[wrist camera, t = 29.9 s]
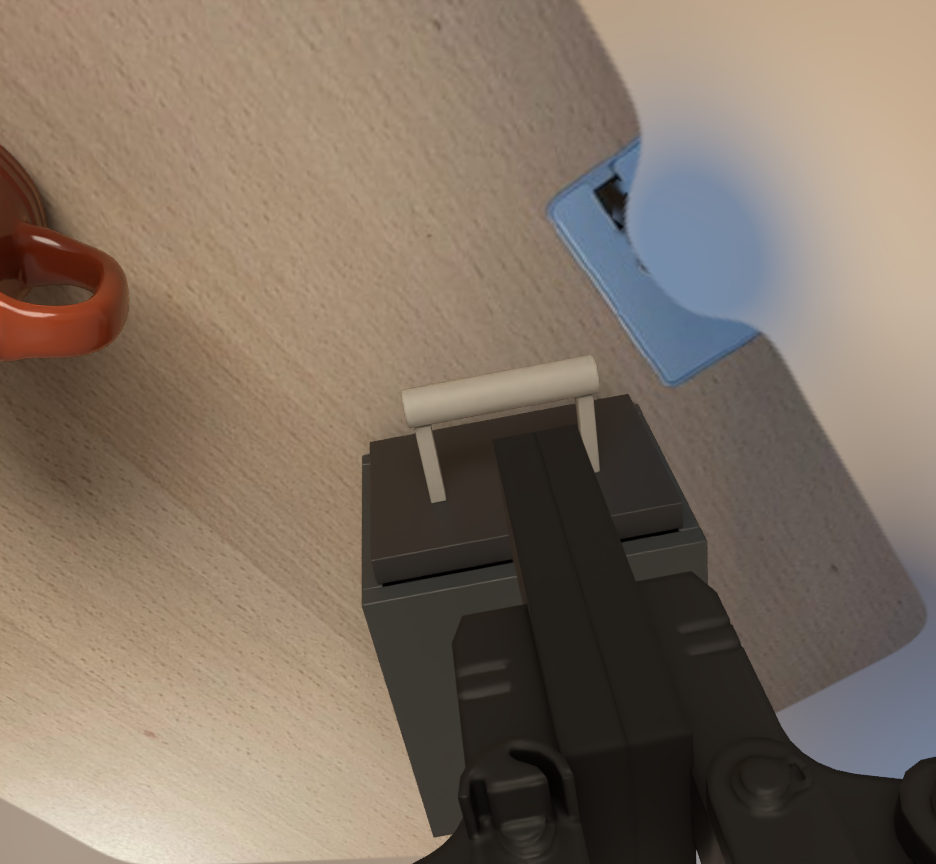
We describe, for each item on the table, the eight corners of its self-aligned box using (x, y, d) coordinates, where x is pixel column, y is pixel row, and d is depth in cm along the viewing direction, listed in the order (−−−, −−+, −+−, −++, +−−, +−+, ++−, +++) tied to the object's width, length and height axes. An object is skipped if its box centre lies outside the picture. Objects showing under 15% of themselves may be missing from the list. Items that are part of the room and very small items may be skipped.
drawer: (342, 342, 36) (338, 450, 29) (621, 290, 36) (679, 386, 29) (426, 655, 46) (436, 787, 39) (643, 614, 46) (689, 740, 39)
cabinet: (361, 455, 40) (361, 605, 32) (638, 403, 40) (707, 540, 32) (421, 673, 48) (433, 838, 40) (652, 631, 48) (710, 786, 40)
